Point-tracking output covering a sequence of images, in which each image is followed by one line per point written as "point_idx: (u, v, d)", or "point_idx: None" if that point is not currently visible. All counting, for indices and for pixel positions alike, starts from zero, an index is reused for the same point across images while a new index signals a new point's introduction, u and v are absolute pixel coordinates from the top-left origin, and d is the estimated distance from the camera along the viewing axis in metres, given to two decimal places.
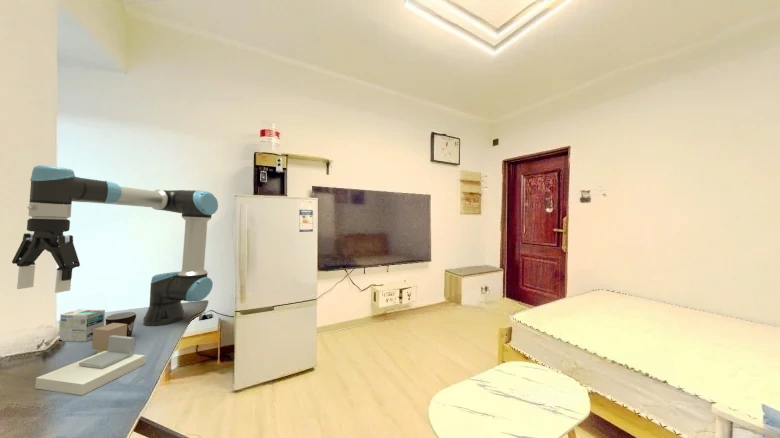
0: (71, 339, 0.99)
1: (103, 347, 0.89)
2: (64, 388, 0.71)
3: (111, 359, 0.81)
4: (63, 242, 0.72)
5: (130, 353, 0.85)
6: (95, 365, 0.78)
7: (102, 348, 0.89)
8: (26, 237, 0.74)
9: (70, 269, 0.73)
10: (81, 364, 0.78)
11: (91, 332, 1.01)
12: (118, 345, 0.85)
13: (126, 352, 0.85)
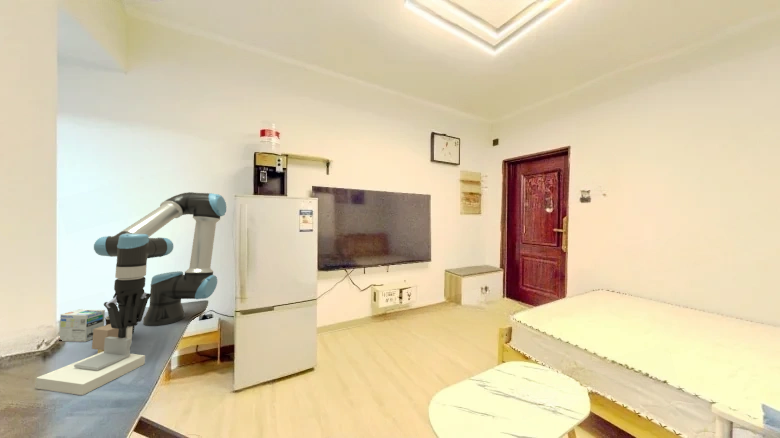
0: (71, 339, 0.99)
1: (103, 347, 0.89)
2: (64, 388, 0.71)
3: (107, 361, 0.80)
4: (107, 308, 0.82)
5: (127, 354, 0.84)
6: (90, 367, 0.76)
7: (102, 348, 0.89)
8: None
9: (120, 329, 0.85)
10: (76, 366, 0.77)
11: (91, 332, 1.01)
12: (114, 347, 0.84)
13: (122, 354, 0.84)
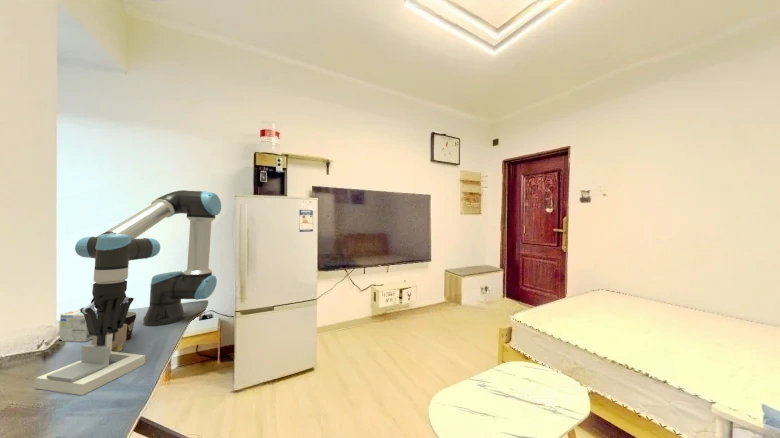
0: (71, 339, 0.99)
1: None
2: (64, 388, 0.71)
3: (83, 371, 0.74)
4: (84, 314, 0.76)
5: (105, 363, 0.78)
6: (64, 378, 0.71)
7: None
8: None
9: (99, 336, 0.79)
10: (49, 377, 0.71)
11: None
12: (92, 355, 0.78)
13: (101, 363, 0.78)
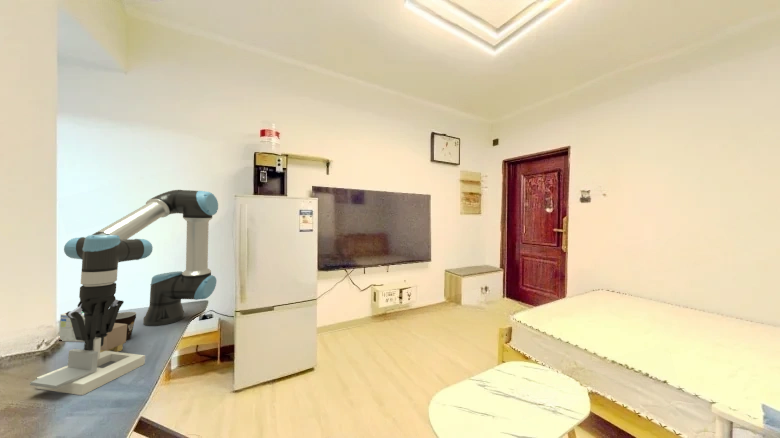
0: (71, 339, 0.99)
1: (103, 347, 0.89)
2: (64, 388, 0.71)
3: (69, 377, 0.71)
4: (70, 318, 0.73)
5: (93, 369, 0.75)
6: (48, 385, 0.68)
7: (102, 348, 0.89)
8: None
9: (86, 341, 0.76)
10: (33, 384, 0.68)
11: None
12: (79, 360, 0.75)
13: (88, 368, 0.75)
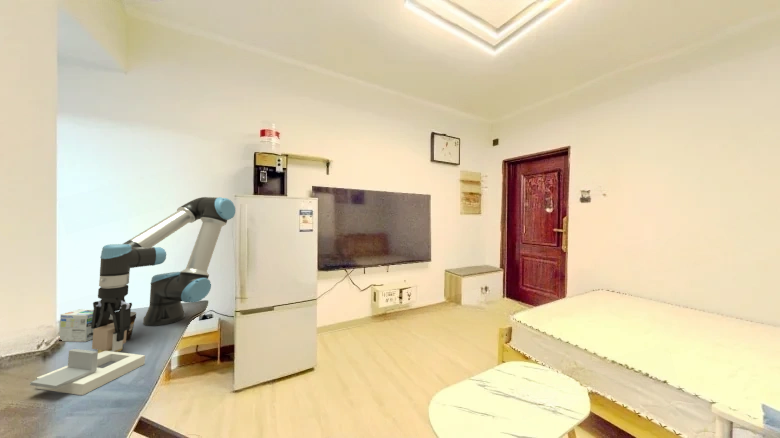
0: (71, 339, 0.99)
1: (103, 347, 0.89)
2: (64, 388, 0.71)
3: (69, 377, 0.71)
4: (124, 310, 0.91)
5: (93, 369, 0.75)
6: (48, 385, 0.68)
7: (102, 348, 0.89)
8: (95, 304, 0.92)
9: (123, 331, 0.92)
10: (33, 384, 0.68)
11: (91, 332, 1.01)
12: (79, 360, 0.75)
13: (88, 368, 0.75)
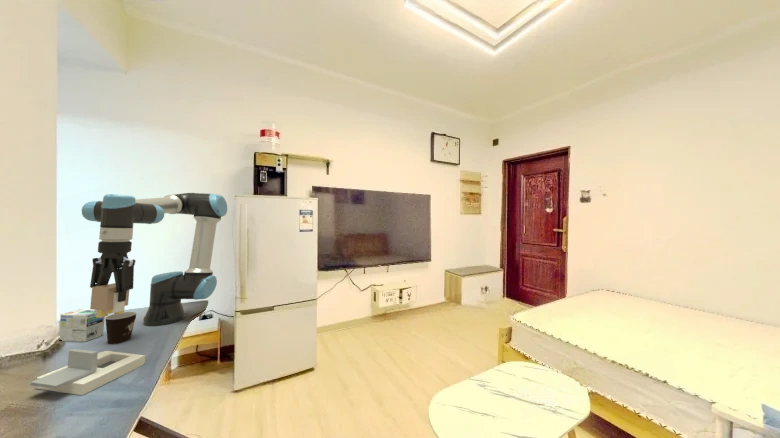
0: (71, 339, 0.99)
1: (102, 307, 0.79)
2: (64, 388, 0.71)
3: (69, 377, 0.71)
4: (127, 266, 0.81)
5: (93, 369, 0.75)
6: (48, 385, 0.68)
7: (101, 308, 0.79)
8: (95, 261, 0.83)
9: (125, 291, 0.82)
10: (33, 384, 0.68)
11: (91, 332, 1.01)
12: (79, 360, 0.75)
13: (88, 368, 0.75)
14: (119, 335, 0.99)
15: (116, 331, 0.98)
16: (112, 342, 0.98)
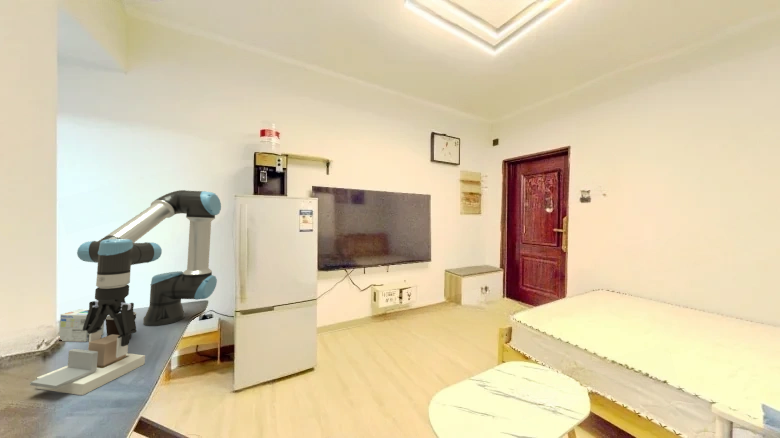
0: (71, 339, 0.99)
1: (100, 363, 0.79)
2: (64, 388, 0.71)
3: (69, 377, 0.71)
4: (126, 311, 0.81)
5: (93, 369, 0.75)
6: (48, 385, 0.68)
7: (99, 364, 0.79)
8: (92, 305, 0.82)
9: (128, 335, 0.82)
10: (33, 384, 0.68)
11: None
12: (79, 360, 0.75)
13: (88, 368, 0.75)
14: None
15: (116, 331, 0.98)
16: None
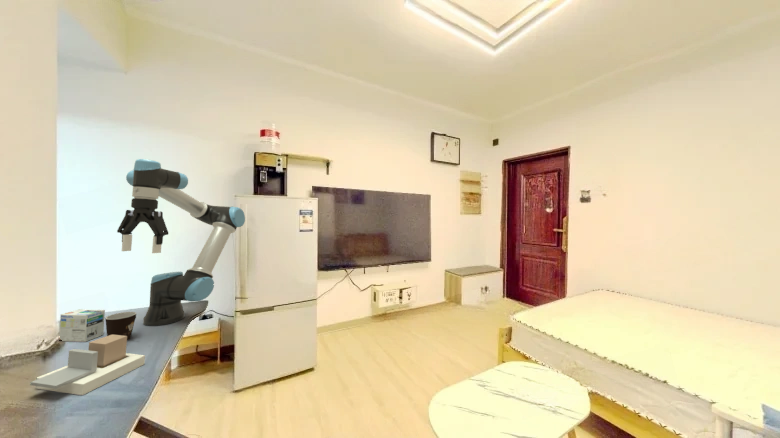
0: (71, 339, 0.99)
1: (100, 363, 0.79)
2: (64, 388, 0.71)
3: (69, 377, 0.71)
4: (157, 216, 0.98)
5: (93, 369, 0.75)
6: (48, 385, 0.68)
7: (99, 364, 0.79)
8: (128, 212, 0.99)
9: (162, 236, 0.98)
10: (33, 384, 0.68)
11: (91, 332, 1.01)
12: (79, 360, 0.75)
13: (88, 368, 0.75)
14: None
15: (116, 331, 0.98)
16: None
